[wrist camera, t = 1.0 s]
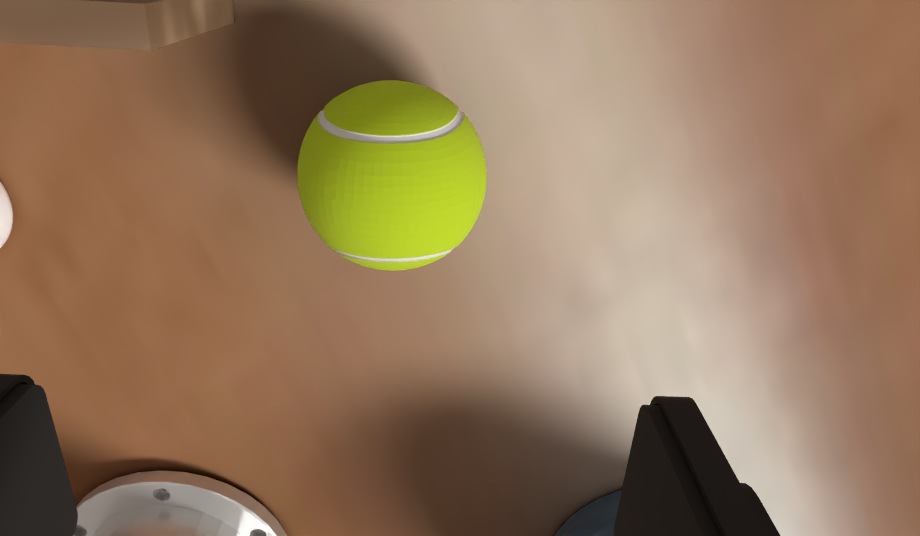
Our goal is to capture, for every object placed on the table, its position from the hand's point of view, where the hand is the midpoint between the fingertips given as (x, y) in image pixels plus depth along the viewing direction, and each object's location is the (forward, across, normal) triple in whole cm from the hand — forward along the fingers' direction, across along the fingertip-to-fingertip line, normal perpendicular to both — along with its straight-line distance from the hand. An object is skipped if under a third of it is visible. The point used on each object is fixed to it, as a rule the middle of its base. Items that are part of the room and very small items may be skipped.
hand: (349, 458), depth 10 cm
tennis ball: (+19, 0, 0) cm, 19 cm away
